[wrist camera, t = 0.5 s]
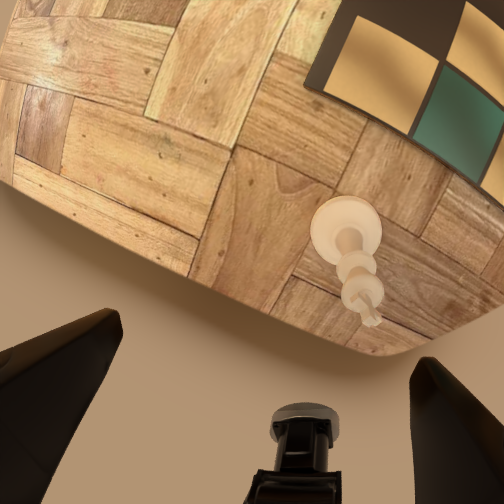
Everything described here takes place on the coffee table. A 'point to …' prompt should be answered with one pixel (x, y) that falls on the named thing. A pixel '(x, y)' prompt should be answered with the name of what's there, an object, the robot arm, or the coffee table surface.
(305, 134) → the coffee table surface
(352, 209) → the chess piece
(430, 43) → the game board
